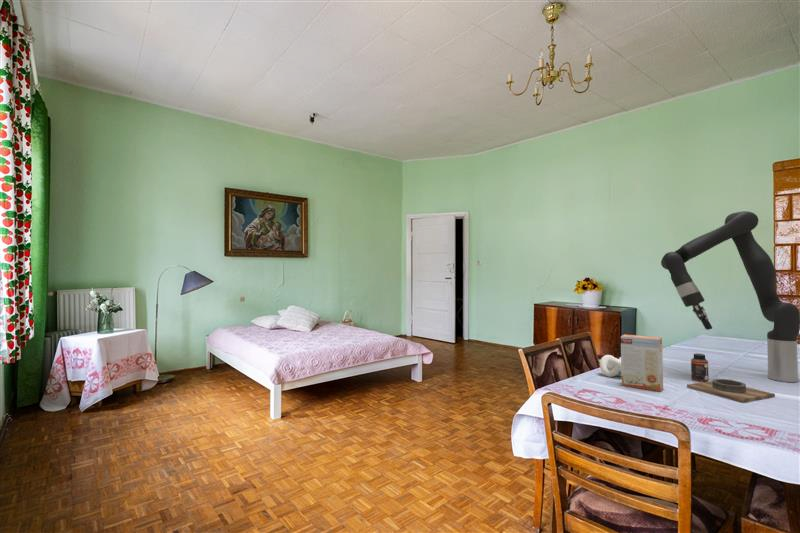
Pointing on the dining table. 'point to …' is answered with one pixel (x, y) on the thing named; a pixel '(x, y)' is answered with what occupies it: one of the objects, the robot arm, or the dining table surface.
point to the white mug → (610, 365)
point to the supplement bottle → (699, 368)
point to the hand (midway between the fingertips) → (709, 329)
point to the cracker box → (642, 362)
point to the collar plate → (730, 395)
